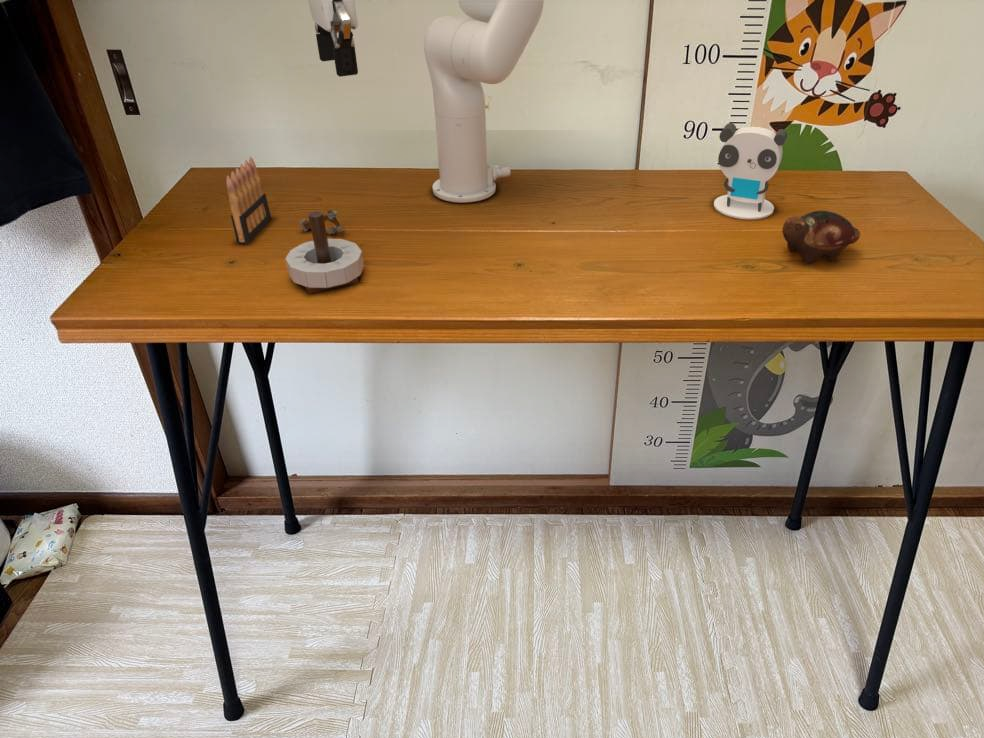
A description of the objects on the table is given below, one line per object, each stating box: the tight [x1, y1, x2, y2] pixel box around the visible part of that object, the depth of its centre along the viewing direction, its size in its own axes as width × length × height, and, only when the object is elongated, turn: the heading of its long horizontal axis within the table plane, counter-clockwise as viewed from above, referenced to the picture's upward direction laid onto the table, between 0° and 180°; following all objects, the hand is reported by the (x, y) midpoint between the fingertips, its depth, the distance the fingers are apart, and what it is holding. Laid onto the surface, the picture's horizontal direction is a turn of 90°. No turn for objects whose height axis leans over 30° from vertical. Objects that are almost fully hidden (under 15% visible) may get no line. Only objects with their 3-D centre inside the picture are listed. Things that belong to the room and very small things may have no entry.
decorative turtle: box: [781, 210, 861, 265], centre depth 130 cm, size 10×15×8 cm, turn 113°
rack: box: [304, 210, 359, 295], centre depth 122 cm, size 8×8×11 cm
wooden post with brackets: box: [299, 209, 345, 235], centre depth 137 cm, size 2×8×4 cm, turn 71°
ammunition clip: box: [226, 156, 272, 245], centre depth 135 cm, size 11×2×12 cm, turn 172°
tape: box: [285, 238, 365, 288], centre depth 124 cm, size 12×12×3 cm
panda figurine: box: [713, 122, 788, 220], centre depth 144 cm, size 12×11×15 cm
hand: (338, 67), depth 120 cm, fingers open, 9 cm apart
